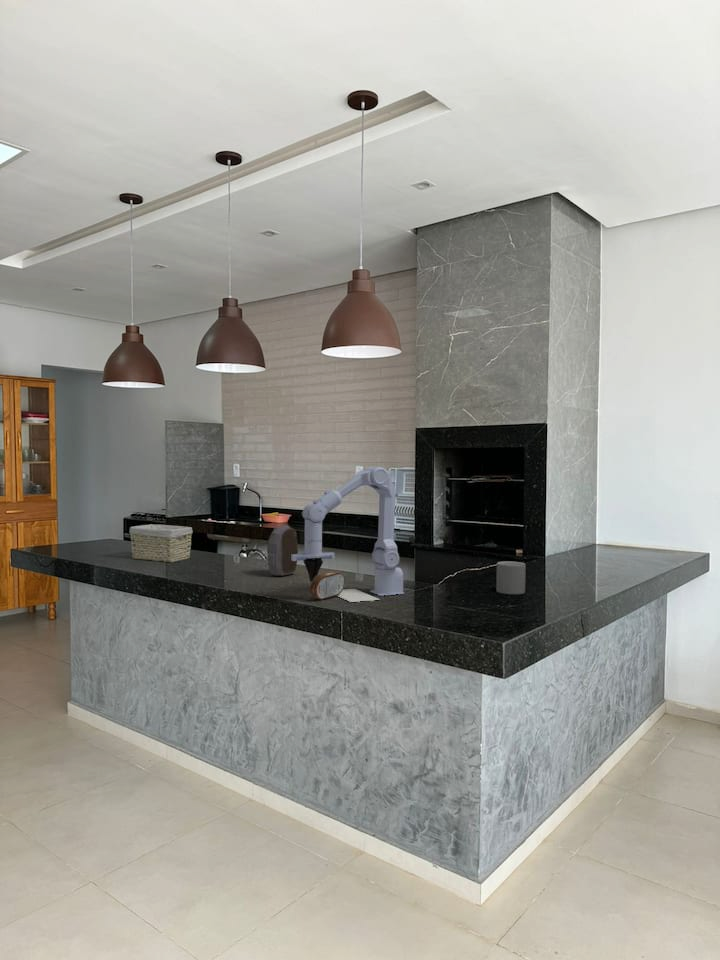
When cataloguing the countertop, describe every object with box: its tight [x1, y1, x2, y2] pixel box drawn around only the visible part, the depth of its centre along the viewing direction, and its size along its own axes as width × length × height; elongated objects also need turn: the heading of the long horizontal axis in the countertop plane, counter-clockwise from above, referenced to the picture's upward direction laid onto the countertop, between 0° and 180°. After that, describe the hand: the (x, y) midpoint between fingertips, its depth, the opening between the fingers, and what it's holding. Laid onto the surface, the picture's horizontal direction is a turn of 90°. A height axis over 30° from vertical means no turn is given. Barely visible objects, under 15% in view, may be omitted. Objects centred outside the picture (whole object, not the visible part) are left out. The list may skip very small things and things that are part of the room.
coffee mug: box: [495, 560, 526, 595], centre depth 252 cm, size 13×10×10 cm
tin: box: [309, 570, 346, 600], centre depth 234 cm, size 15×3×8 cm, turn 141°
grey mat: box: [336, 588, 381, 603], centre depth 238 cm, size 10×20×1 cm, turn 25°
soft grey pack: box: [266, 524, 299, 577], centre depth 279 cm, size 15×8×20 cm, turn 150°
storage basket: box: [129, 523, 193, 563], centre depth 317 cm, size 24×16×15 cm
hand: (312, 581), depth 232 cm, fingers closed
